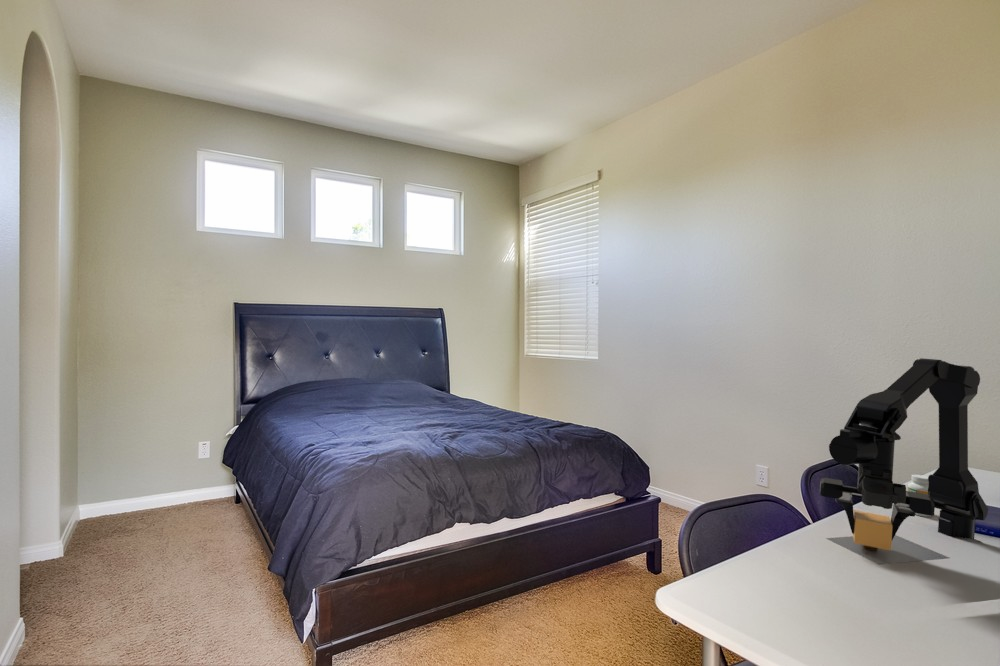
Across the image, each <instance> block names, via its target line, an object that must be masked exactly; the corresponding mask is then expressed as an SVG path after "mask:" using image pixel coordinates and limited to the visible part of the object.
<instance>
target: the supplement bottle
mask: <svg viewBox="0 0 1000 666" xmlns="http://www.w3.org/2000/svg"><path fill="white" fill-rule="evenodd" d="M928 477H929V476H927V475H922V474H911V479H910V480H911V482H908V485H907V491H910V492H916V493H922V494H927V495H928V496H929V494H928V486H929V482H928ZM915 514H916V515H915V516H918V517H926V518H931V517H932V516H930V515H924V514H919V513H915Z"/></svg>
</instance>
